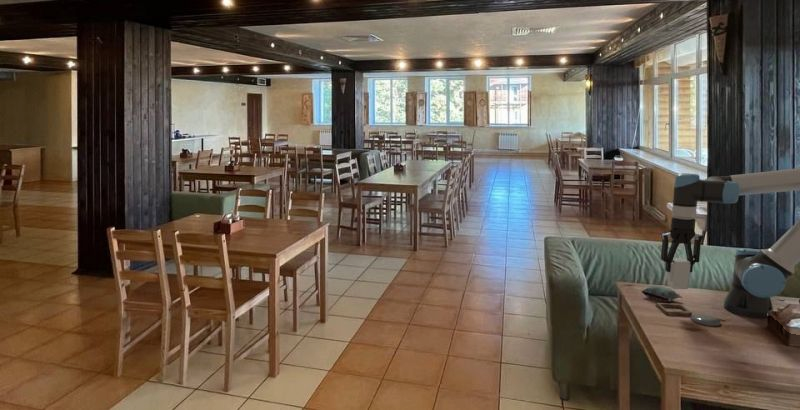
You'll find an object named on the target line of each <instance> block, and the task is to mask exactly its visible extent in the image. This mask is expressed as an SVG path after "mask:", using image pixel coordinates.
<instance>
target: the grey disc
mask: <svg viewBox="0 0 800 410" xmlns="http://www.w3.org/2000/svg"><path fill="white" fill-rule="evenodd" d="M690 320H691V321H692V322H693V323H695V324H698V325H701V326H707V327H718V326H720V325H721V320H720V319H719V318H717V317H716V316H715V317H714V316H712V315H707V314H702V313H701V314H700V313H697V314H696V313H694V314H693V313H692V315H691V316H690Z"/></svg>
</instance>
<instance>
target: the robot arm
mask: <svg viewBox="0 0 800 410" xmlns="http://www.w3.org/2000/svg"><path fill="white" fill-rule="evenodd" d="M674 178H675V179H674V184H673V197H672V198H673V199H672V200H673V201H672V210H671V215H672V217H671V222H670V230H669V232H667V233H661V234H660V236H661V239H662V241H661V242H662V243H661V252H660V260H661V261H663V262H664V263H665V272H667V274H666V275H667V277H666V279H667V280H666V281H668V280H669V281H670V282H672V280H673V268H674V264H673V263H672V261H673V258H675V254H676V252H677V249H678V247H679V246H680V244H683V246H684V249H685V255H686V260H688V261H689V262H690V270H689V277H690V276H691V275H690V274H691V273H693V268H694V265H695V264H696V263H699V262H700V258H701V257H700V256H701V246H702V243H701V242H703V238H704V236H703V235H701V234H699V233H698V234H697V233H696V231H695V228H696V219H695V218H696V217H697V206H698V202H700V203H702V202H705V203H716V204H717V203H719V204H725V205H727V204H736V203H737V202H738V201H739V197H740V196H748V195H759V194H760V195H761V194H772V193H781V192H794V191H800V167H799V168H789V169H780V170H771V171H761V172H751V173H742V174H732V175H726V176H725V175H724V176H717V175H713V176H712V175H711V176H709V177H707V178H706V179H704V180H703V179H701V178H700V175H699V174H697V173H689V172H688V173H687V172H686V173H685V172H684V173H683V172H682V173H677V174H676V175H675V177H674ZM670 238H671V239H672V240H671V244H670V247H669V241H670ZM692 239H694V240H693V250H692ZM734 258H735V259H734V263H733V264H734V266H733V273H732V281H731V288H730V289H729V291H728V293H727V295H726V297H725V298H724V302H723V307H724V309H725V310H727V311H729V312H731V313H733V314H737V315H740V316H744V317H745V316H746V317H750V318H751V317H752V318H762V319H763V318H768V317H767V313H768V311H773V312H774V307H773V303H772V299H771V298H772V297H774V298H775V297H776V296H778V295H779V294H781V293H782V291H783V290H784V288H785V286H786V282H787V281H788V280H789V279H790V278H791V277H792V276H793V275H794V274H795V266H796V265H797V264H798V263H799V262H800V219H798V220H797V221H796V222H795V223H794V225H792V226H791V227H790V228H789V229H788V230H787V231H786V232H785V233H784V234H783V235H782V236H781V237H780V238H779V239H778V240H777V241H776V242H774V244H772V246H771V247H770V248H764V249H763V248H762V249H755V248H747V247H744V248H742V247H740V248H738V249H736V253H735V255H734ZM689 282H690V279H689V280H688V283H689Z"/></svg>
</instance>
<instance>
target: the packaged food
mask: <svg viewBox="0 0 800 410" xmlns="http://www.w3.org/2000/svg"><path fill="white" fill-rule="evenodd" d="M640 292H641V293H642V294H644V296H645V297H647V298H649V297H650V299H652V298H653V300H656V301H658V302H662V303H667V302H668V303H671V301H674V300H675V299H679V298H683V296H682V295H680V294H679V293H677V292H676V291H675V290H672V289H671V288H668V287H665V286H661V285H654V284H652V285H650V286H649V287H647V288H645V289H642V290H641V291H640Z"/></svg>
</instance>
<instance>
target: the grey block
mask: <svg viewBox="0 0 800 410" xmlns="http://www.w3.org/2000/svg"><path fill="white" fill-rule="evenodd" d="M672 263H673V264H674V268H673V280H672V282H670V281H669V280H667V286H669V287H670V289H671V288H672V289H674V290H688V289H689V282H688V280H689V281H690V276H689V270H690V262H689V261H688V260H687V258H684V257H674V258H673V261H672Z"/></svg>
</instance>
